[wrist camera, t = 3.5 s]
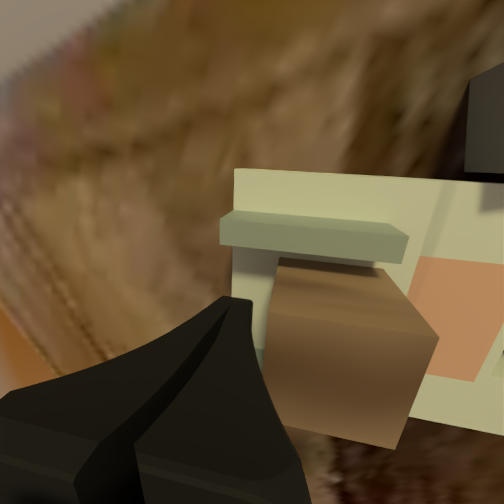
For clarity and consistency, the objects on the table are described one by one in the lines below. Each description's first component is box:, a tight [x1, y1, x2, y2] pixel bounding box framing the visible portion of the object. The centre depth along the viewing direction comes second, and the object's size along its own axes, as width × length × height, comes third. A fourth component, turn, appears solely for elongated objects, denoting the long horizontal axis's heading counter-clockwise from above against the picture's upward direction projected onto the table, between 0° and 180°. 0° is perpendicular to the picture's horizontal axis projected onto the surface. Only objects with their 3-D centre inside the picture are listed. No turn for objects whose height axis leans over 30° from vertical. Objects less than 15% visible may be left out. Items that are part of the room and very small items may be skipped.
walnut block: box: [262, 257, 440, 450], centre depth 9 cm, size 4×4×4 cm
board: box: [220, 168, 504, 435], centre depth 11 cm, size 12×15×4 cm
